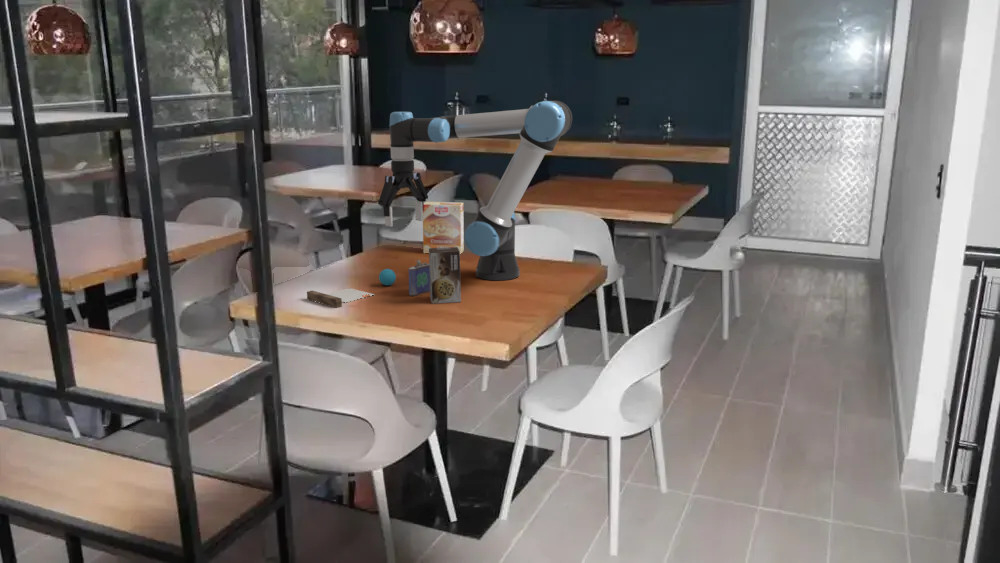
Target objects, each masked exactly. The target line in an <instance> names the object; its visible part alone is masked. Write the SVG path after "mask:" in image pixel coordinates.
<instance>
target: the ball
mask: <svg viewBox="0 0 1000 563" xmlns="http://www.w3.org/2000/svg"><path fill="white" fill-rule="evenodd" d="M396 278H397V275H396V272H394V270H393V269H391V268H385V269H383V270H381V271H380V273H379V274H378V279H379V282H380V283H381V284H382V285H384V286H387V287H388V286H391V285H393V284H394V283H395V282H396Z"/></svg>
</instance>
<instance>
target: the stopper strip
mask: <svg viewBox="0 0 1000 563" xmlns="http://www.w3.org/2000/svg"><path fill="white" fill-rule="evenodd" d="M327 294H328V293H323V292H319V291H316V290H308V291H306V298H307V299H309V300H308V301H311V300H313V301H312V302H314V301H316V302H315V303H318V302H320V303H319V304H321V303H323V305H325V304H326V305H325V306H328V305H330V306H329V307H332V306H333V308H336V309H337V307H338V308H341V307H343V304H342V303H343V302H342V299H341V298H338V297H335V296H331V295H327Z"/></svg>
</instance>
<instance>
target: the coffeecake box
mask: <svg viewBox="0 0 1000 563" xmlns="http://www.w3.org/2000/svg"><path fill="white" fill-rule="evenodd" d="M464 215H465V214H464V202H457V201H455V202H450V201H449V202H448V201H445V202H444V201H425V202H424V210H423V221H422V245H423V246H422V248H423V252H422V253H423V254H425V253H429V248H449V247H457V248H458V249H459V251H460V254H461V253H463V252H464V251H465V250H464V246H465V245H464V244H465V240H464V234H465V230H464V225H465V224H464Z"/></svg>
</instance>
